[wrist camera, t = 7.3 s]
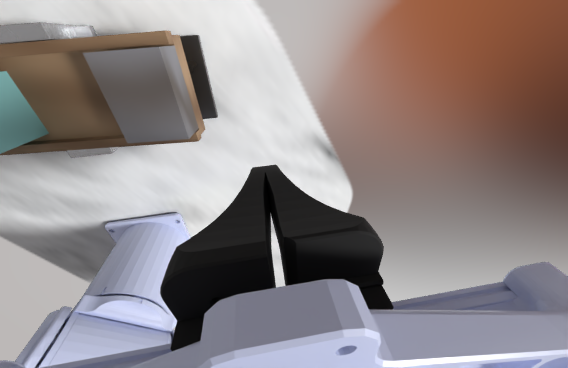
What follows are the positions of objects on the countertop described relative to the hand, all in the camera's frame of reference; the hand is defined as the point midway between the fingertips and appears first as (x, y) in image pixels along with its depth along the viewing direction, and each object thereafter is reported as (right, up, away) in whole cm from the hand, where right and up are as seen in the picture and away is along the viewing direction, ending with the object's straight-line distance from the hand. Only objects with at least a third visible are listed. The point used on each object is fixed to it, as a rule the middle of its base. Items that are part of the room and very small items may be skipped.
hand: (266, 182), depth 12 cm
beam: (-14, +6, +4) cm, 16 cm away
